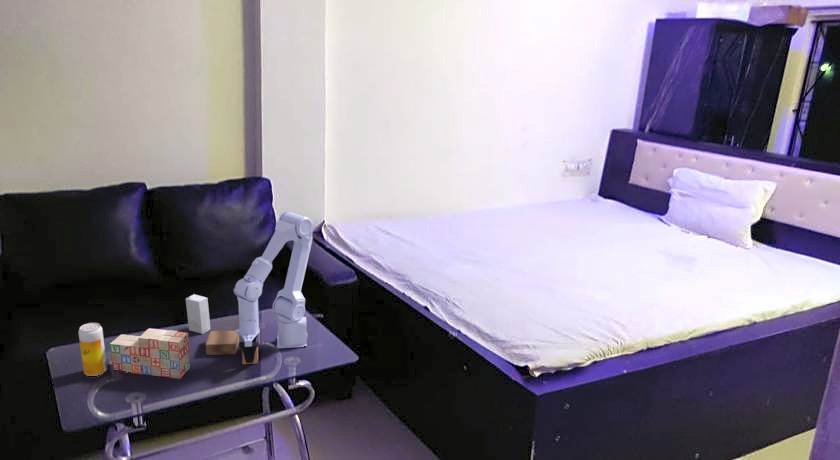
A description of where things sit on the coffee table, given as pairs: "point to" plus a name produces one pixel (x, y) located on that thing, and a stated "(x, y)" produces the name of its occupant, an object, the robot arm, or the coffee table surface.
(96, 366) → the beer can
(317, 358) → the coffee table surface
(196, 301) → the skincare box
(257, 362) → the terracotta cube
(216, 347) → the walnut block
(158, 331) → the stack of blocks
